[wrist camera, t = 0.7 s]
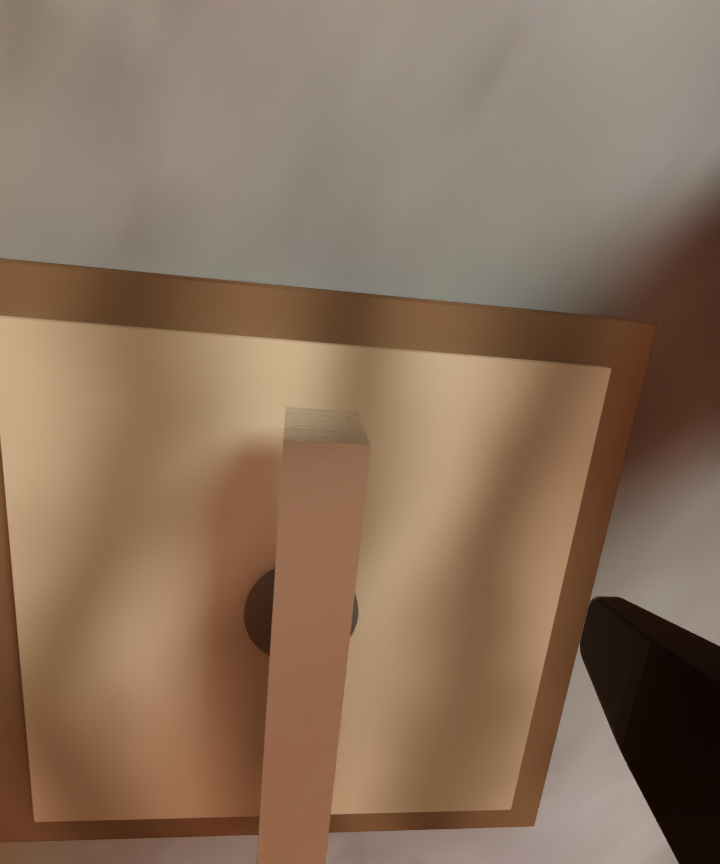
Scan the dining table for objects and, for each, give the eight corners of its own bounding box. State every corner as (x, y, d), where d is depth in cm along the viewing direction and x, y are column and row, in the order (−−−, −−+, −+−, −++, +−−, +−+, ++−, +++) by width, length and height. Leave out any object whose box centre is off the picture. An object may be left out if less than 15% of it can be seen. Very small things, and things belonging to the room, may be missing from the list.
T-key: (286, 393, 17) (283, 439, 13) (352, 397, 17) (370, 445, 13) (261, 798, 21) (252, 936, 17) (313, 797, 22) (317, 933, 17)
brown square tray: (616, 317, 21) (668, 327, 18) (513, 776, 27) (539, 839, 24) (-18, 256, 18) (-79, 256, 15) (29, 785, 24) (-8, 858, 21)
